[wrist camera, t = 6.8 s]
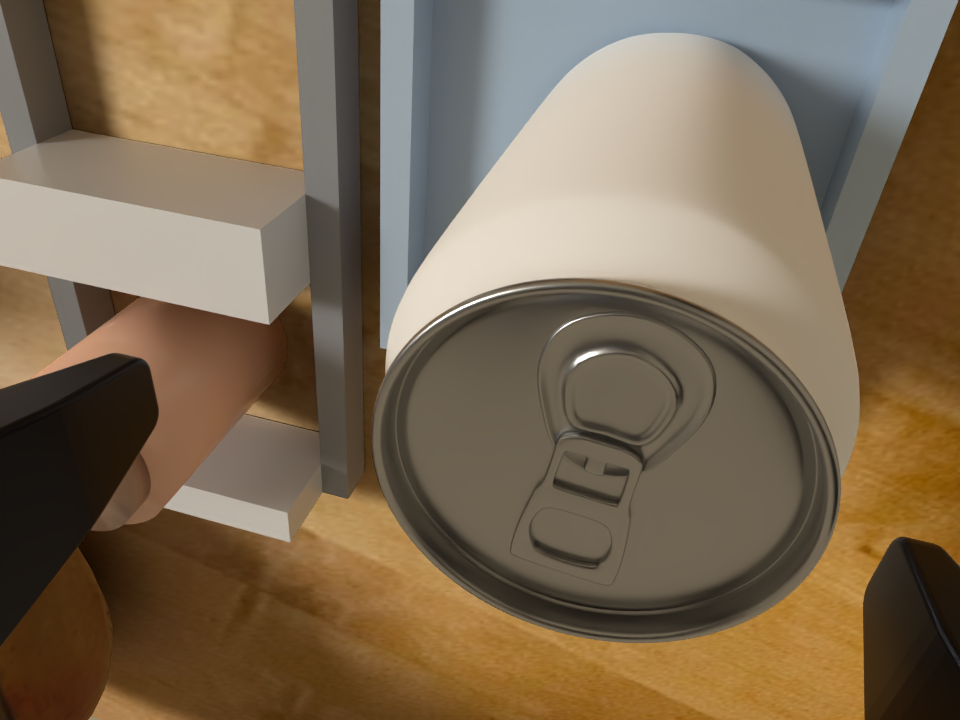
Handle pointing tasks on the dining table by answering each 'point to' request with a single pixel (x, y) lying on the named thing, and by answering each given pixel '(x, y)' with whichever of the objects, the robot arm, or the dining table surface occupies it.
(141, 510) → the jar
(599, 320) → the can
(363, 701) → the dining table surface
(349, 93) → the caddy
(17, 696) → the ceramic pitcher
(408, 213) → the tray
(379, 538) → the dining table surface
